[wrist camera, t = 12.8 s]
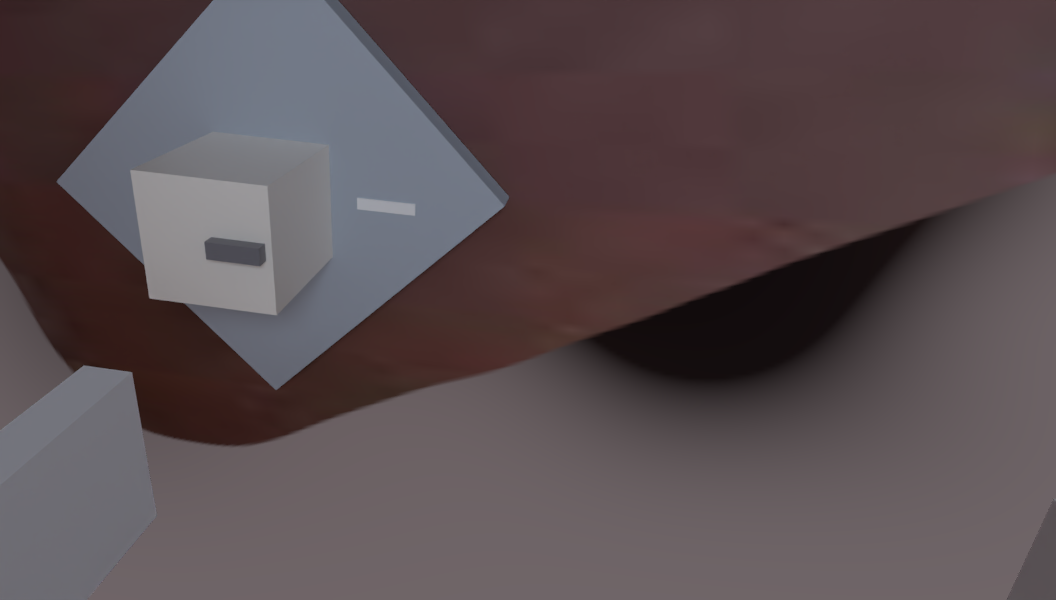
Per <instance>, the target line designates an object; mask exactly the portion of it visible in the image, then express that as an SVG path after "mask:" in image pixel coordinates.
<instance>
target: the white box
mask: <svg viewBox="0 0 1056 600" xmlns="http://www.w3.org/2000/svg"><path fill="white" fill-rule="evenodd" d="M130 173H131V179H132V186H133V193H134V199H135V206H136V213H137V219H138V226H139V233H140V239H141V246H142V252H143V259H144V266H145V272H146V279H147V286H148V292H149V298H151V299H158V300H165V301H173V302H180V303H188V304H195V305H203V306H210V307H218V308H225V309H233V310H240V311H248V312H255V313H263V314H270V315H278V314H279V312H280V311H281V310H282V309H283V308H284V307H285V306H286V305H287V304H288V303H289V302H290V301H291V300H292V299H293V298H294V297H295V296H296V295H297V294H298V293H299V292H300V291H301V290H302V288H303V287H304V286H305V285H306V284H307V283H308V282H309V281H310V280H311V279H312V278H313V277H314V276H315V275H316V274H317V273H318V272H319V271H320V270H321V269H322V268H323V267H324V266H325V264H326V263H327V262H328V261H329V260H330V259H331V258H332V257H333V247H332V218H331V189H330V161H329V145H327V144H318V143H309V142H300V141H291V140H283V139H274V138H265V137H256V136H247V135H238V134H230V133H221V132H211V133H209V134H207V135H205V136H202V137H200V138H198V139H196V140H194V141H192V142H189V143H187V144H185V145H183V146H181V147H178V148H176V149H174V150H172V151H170V152H168V153H165V154H163V155H161V156H159V157H157V158H155V159H152V160H150V161H148V162H146V163H144V164H141V165H139V166H137V167H135V168H133V169H131V170H130Z"/></svg>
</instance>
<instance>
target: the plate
mask: <svg viewBox="0 0 1056 600" xmlns="http://www.w3.org/2000/svg"><path fill="white" fill-rule="evenodd" d="M211 132H221V133H230V134H238V135H247V136H256V137H265V138H274V139H283V140H291V141H300V142H309V143H318V144H327V145H329V161H330V189H331V218H332V247H333V257H332V258H331V259H330V260H329V261H328V262H327V263H326V264H325V266H324V267H323V268H322V269H321V270H320V271H319V272H318V273H317V274H316V275H315V276H314V277H313V278H312V279H311V280H310V281H309V282H308V283H307V284H306V285H305V286H304V287H303V288H302V290H301V291H300V292H299V293H298V294H297V295H296V296H295V297H294V298H293V299H292V300H291V301H290V302H289V303H288V304H287V305H286V306H285V307H284V308H283V309H282V310H281V311H280V312H279V314H278V315H270V314H263V313H255V312H248V311H240V310H233V309H225V308H218V307H210V306H203V305H195V304H188V303H185V304H186V305H187V306H188V307H189V308H190V309H191V310H192V311H193V312H194V313H195V314H196V315H197V316H198V317H199V318H201V319H202V320H203V321H204V322H205V323H206V324H207V325H208V326H209V327H210V328H211V329H212V330H213V331H214V332H215V333H216V334H217V335H218V336H219V337H221V338H222V339H223V340H224V341H225V342H226V343H227V344H228V345H229V346H230V347H231V348H232V349H233V350H234V351H235V352H236V353H237V354H238V355H239V356H241V357H242V358H243V359H244V360H245V361H246V362H247V363H248V364H249V365H250V366H251V367H252V368H253V369H254V370H255V371H256V372H257V373H258V374H259V375H261V376H262V377H263V378H264V379H265V380H266V381H267V382H268V383H269V384H270V385H271V386H272V387H273V388H274V389H275V390H277V389H278V388H280V387H281V386H282V385H283V384H284V383H286V382H287V381H288V380H289V379H291V378H292V377H293V376H294V375H296V374H297V373H298V372H299V371H301V370H302V369H303V368H304V367H306V366H307V365H308V364H309V363H311V362H312V361H313V360H314V359H316V358H317V357H318V356H319V355H320V354H322V353H323V352H324V351H325V350H327V349H328V348H329V347H330V346H332V345H333V344H334V343H335V342H337V341H338V340H339V339H340V338H342V337H343V336H344V335H345V334H347V333H348V332H349V331H350V330H352V329H353V328H354V327H355V326H357V325H358V324H359V323H360V322H361V321H363V320H364V319H365V318H366V317H368V316H369V315H370V314H371V313H373V312H374V311H375V310H376V309H378V308H379V307H380V306H381V305H383V304H384V303H385V302H386V301H388V300H389V299H390V298H391V297H393V296H394V295H395V294H396V293H397V292H399V291H400V290H401V289H402V288H404V287H405V286H406V285H407V284H409V283H410V282H411V281H412V280H414V279H415V278H416V277H417V276H419V275H420V274H421V273H422V272H424V271H425V270H426V269H427V268H429V267H430V266H431V265H432V264H434V263H435V262H436V261H437V260H438V259H440V258H441V257H442V256H443V255H445V254H446V253H447V252H448V251H450V250H451V249H452V248H453V247H455V246H456V245H457V244H458V243H460V242H461V241H462V240H463V239H465V238H466V237H467V236H468V235H470V234H471V233H472V232H473V231H474V230H476V229H477V228H478V227H479V226H481V225H482V224H483V223H484V222H486V221H487V220H488V219H489V218H491V217H492V216H493V215H494V214H496V213H497V212H498V211H499V210H501V209H502V208H503V207H504V206H505V204H506V203H507V201H508V199H509V196H508V195H507V194H506V193H505V192H504V190H503V189H502V188H501V187H500V186H499V185H498V183H497V182H496V181H495V180H494V179H493V178H492V177H491V175H490V174H489V173H488V172H487V171H486V170H485V169H484V167H483V166H482V165H481V164H480V163H479V162H478V160H477V159H476V158H475V157H474V156H473V155H472V154H471V152H470V151H469V150H468V149H467V148H466V147H465V146H464V144H463V143H462V142H461V141H460V140H459V139H458V138H457V136H456V135H455V134H454V133H453V132H452V131H451V129H450V128H449V127H448V126H447V125H446V124H445V123H444V121H443V120H442V119H441V118H440V117H439V116H438V115H437V113H436V112H435V111H434V110H433V109H432V108H431V106H430V105H429V104H428V103H427V102H426V101H425V100H424V98H423V97H422V96H421V95H420V94H419V93H418V92H417V90H416V89H415V88H414V87H413V86H412V85H411V83H410V82H409V81H408V80H407V79H406V78H405V77H404V75H403V74H402V73H401V72H400V71H399V70H398V69H397V67H396V66H395V65H394V64H393V63H392V62H391V60H390V59H389V58H388V57H387V56H386V55H385V54H384V52H383V51H382V50H381V49H380V48H379V47H378V46H377V44H376V43H375V42H374V41H373V40H372V39H371V38H370V36H369V35H368V34H367V33H366V32H365V31H364V29H363V28H362V27H361V26H360V25H359V24H358V23H357V21H356V20H355V19H354V18H353V17H352V16H351V15H350V13H349V12H348V11H347V10H346V9H345V8H344V6H343V5H342V4H341V3H340V2H339V1H338V0H213V1H212V2H211V4H210V5H209V6H208V7H207V8H206V9H205V10H204V12H203V13H202V14H201V15H200V16H199V17H198V19H197V20H196V21H195V22H194V23H193V24H192V25H191V27H190V28H189V29H188V30H187V31H186V32H185V34H184V35H183V36H182V37H181V38H180V39H179V41H178V42H177V43H176V44H175V45H174V46H173V47H172V49H171V50H170V51H169V52H168V53H167V54H166V56H165V57H164V58H163V59H162V60H161V61H160V62H159V64H158V65H157V66H156V67H155V68H154V69H153V71H152V72H151V73H150V74H149V75H148V76H147V78H146V79H145V80H144V81H143V82H142V83H141V84H140V86H139V87H138V88H137V89H136V90H135V91H134V93H133V94H132V95H131V96H130V97H129V98H128V100H127V101H126V102H125V103H124V104H123V105H122V106H121V108H120V109H119V110H118V111H117V112H116V113H115V115H114V116H113V117H112V118H111V119H110V120H109V121H108V123H107V124H106V125H105V126H104V127H103V128H102V130H101V131H100V132H99V133H98V134H97V135H96V137H95V138H94V139H93V140H92V141H91V142H90V143H89V145H88V146H87V147H86V148H85V149H84V150H83V152H82V153H81V154H80V155H79V156H78V157H77V158H76V160H75V161H74V162H73V163H72V164H71V165H70V167H69V168H68V169H67V170H66V171H65V172H64V174H63V175H62V176H61V177H60V178H59V179H58V180H57V183H58V184H59V185H60V186H61V187H63V188H64V189H65V190H66V191H67V192H68V193H69V194H70V195H71V196H72V197H73V198H74V199H75V200H76V201H77V202H78V203H79V204H80V205H82V206H83V207H84V208H85V209H86V210H87V211H88V212H89V213H90V214H91V215H92V216H93V217H94V218H95V219H96V220H97V221H98V222H99V223H100V224H102V225H103V226H104V227H105V228H106V229H107V230H108V231H109V232H110V233H111V234H112V235H113V236H114V237H115V238H116V239H117V240H118V241H119V242H120V243H122V244H123V245H124V246H125V247H126V248H127V249H128V250H129V251H130V252H131V253H132V254H133V255H134V256H135V257H136V258H137V259H138V260H139V261H140V262H142V263H143V264H144V259H143V252H142V246H141V239H140V233H139V226H138V219H137V213H136V206H135V199H134V193H133V186H132V179H131V173H130V170H131V169H133V168H135V167H137V166H139V165H141V164H144V163H146V162H148V161H150V160H152V159H155V158H157V157H159V156H161V155H163V154H165V153H168V152H170V151H172V150H174V149H176V148H178V147H181V146H183V145H185V144H187V143H189V142H192V141H194V140H196V139H198V138H200V137H202V136H205V135H207V134H209V133H211Z"/></svg>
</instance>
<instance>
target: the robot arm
mask: <svg viewBox="0 0 1056 600" xmlns="http://www.w3.org/2000/svg"><path fill="white" fill-rule="evenodd" d="M156 516H157V513H156V506H155V501H154V495H153V489H152V484H151V478H150V472H149V467H148V461H147V455H146V450H145V444H144V439H143V432H142V427H141V421H140V415H139V410H138V404H137V398H136V393H135V387H134V381H133V376H132V372H127V371H120V370H113V369H105V368H98V367H91V366H83V367H81V368H80V369H79V370H77V371H76V372H75V373H73V374H72V375H71V376H70V377H68V378H67V379H66V380H65V381H63V382H62V383H61V384H59V385H58V386H57V387H55V388H54V389H53V390H51V391H50V392H49V393H48V394H46V395H45V396H44V397H42V398H41V399H40V400H39V401H37V402H36V403H35V404H33V405H32V406H31V407H29V408H28V409H27V410H26V411H24V412H23V413H22V414H20V415H19V416H18V417H17V418H15V419H14V420H13V421H12V422H10V423H9V424H8V425H6V426H5V427H4V428H2V429H1V430H0V600H87V599H88V598H89V597H90V595H91V594H92V593H93V592H94V591H95V589H96V588H97V587H98V586H99V585H100V584H101V582H102V581H103V580H104V579H105V577H106V576H107V575H108V574H109V573H110V572H111V570H112V569H113V568H114V567H115V566H116V564H117V563H118V562H119V561H120V559H121V558H122V557H123V556H124V555H125V554H126V552H127V551H128V550H129V549H130V547H131V546H132V545H133V544H134V543H135V541H136V540H137V539H138V538H139V537H140V536H141V534H142V533H143V532H144V531H145V530H146V528H147V527H148V526H149V524H151V522H152V521H153V520H154V519H155V518H156ZM1007 600H1056V499H1053V502H1052V504H1051V506H1050V508H1049V510H1048V512H1047V514H1046V517H1045V519H1044V521H1043V523H1042V525H1041V527H1040V530H1039V532H1038V534H1037V536H1036V538H1035V540H1034V542H1033V545H1032V547H1031V549H1030V551H1029V553H1028V555H1027V558H1026V559H1025V562H1024V564H1023V566H1022V568H1021V570H1020V572H1019V575H1018V577H1017V579H1016V581H1015V583H1014V585H1013V587H1012V590H1011V592H1010V594H1009V596H1008V598H1007Z"/></svg>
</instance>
